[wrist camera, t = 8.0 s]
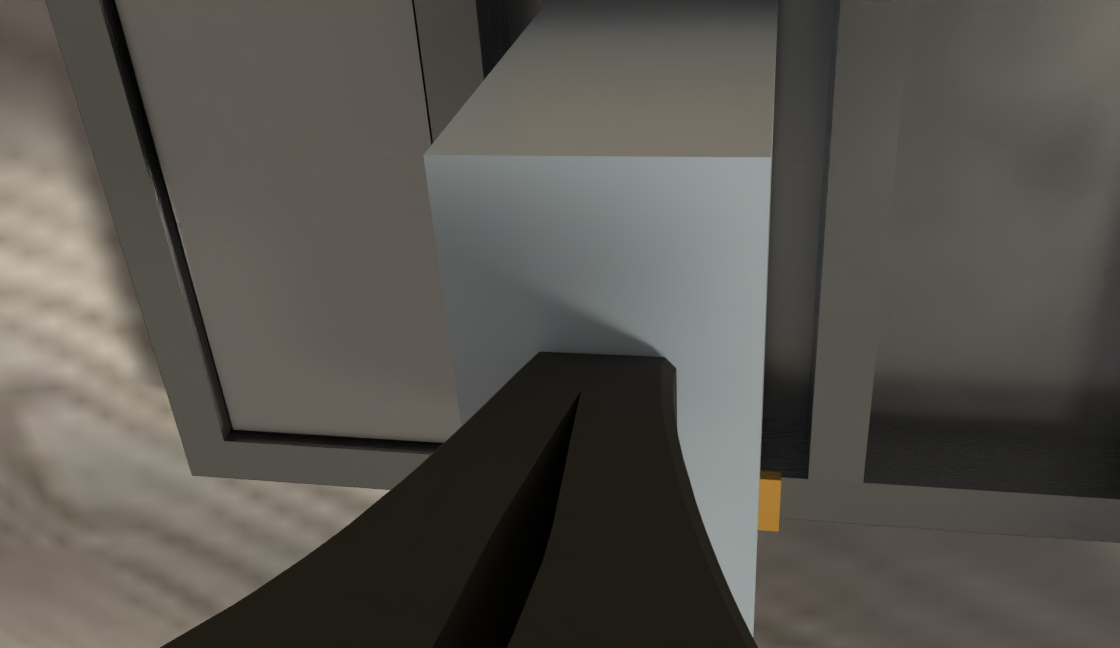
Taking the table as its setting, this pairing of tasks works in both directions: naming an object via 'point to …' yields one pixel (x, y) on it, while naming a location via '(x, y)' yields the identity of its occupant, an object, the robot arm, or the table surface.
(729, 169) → the block
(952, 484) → the rack
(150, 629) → the table surface
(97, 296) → the table surface
